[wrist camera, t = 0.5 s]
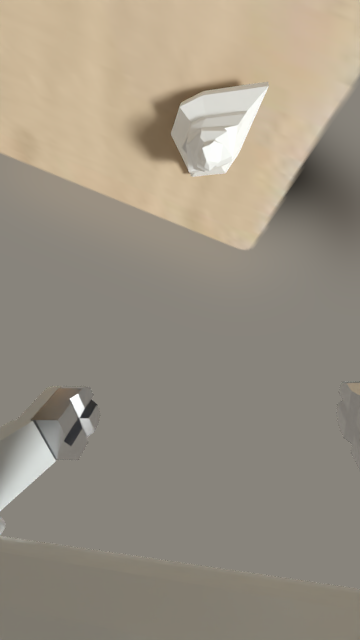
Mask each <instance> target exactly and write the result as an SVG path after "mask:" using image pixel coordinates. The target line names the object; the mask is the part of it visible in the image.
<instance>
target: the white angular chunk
mask: <svg viewBox="0 0 360 640" xmlns="http://www.w3.org/2000/svg"><path fill="white" fill-rule="evenodd" d="M268 86H269V84H268V82H262V83H255V84H248V85H241V86H234V87H227V88H221V89H214V90H207V91H202V92H201V93H199V94H197V95H195V96H193V97H191V98H189V99H187V100H185V101H183V102H181V104H180V107H179V110H178V113H177V116H176V119H175V122H174V125H173V128H172V131H171V136H172V138H173V140H174V142H175V144H176V146H177V148H178V150H179V152H180V154H181V156H182V158H183V160H184V162H185V164H186V166H187V168H188V172H190V174H191V176H192V177H193V176H203V175H214V174H224V173H226V172H227V170H228V169H229V167H230V166H231V164H232V163H233V161H234V160H235V158H236V157H237V155H238V154H239V152H240V149H241V147H242V145H243V143H244V140H245V138H246V136H247V134H248V131H249V129H250V127H251V125H252V122H253V120H254V118H255V116H256V113H257V111H258V109H259V107H260V104H261V102H262V100H263V98H264V95H265V93H266V91H267V89H268Z"/></svg>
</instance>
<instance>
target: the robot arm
mask: <svg viewBox="0 0 360 640" xmlns="http://www.w3.org/2000/svg"><path fill="white" fill-rule="evenodd" d="M339 394H340V396H341V397H342V399H343V400H342V401H341V402H339V403H338V404H337V420H338V425H339V428H340V431H341V433H342V435H343V437H344V438H345V439H346V440H347V441H348V442H350V443H351V444H352V449H351V454H352V456H353V458H354V460H355V462H356V464H357V466H358V468H359V470H360V381H359V382H342V383H341V385H340V389H339ZM92 397H93V393H92V390H91V388H89V387H86V386H62V387H61V386H51V387H49V388H46V389H45V390H44V392H43V393H42V394H41V395H40V396H39V397H38V398H37V399H36V400H35V401H34V402H33V403H32V404H31V405H30V406H29V407H28V408H27V409H26V410H25V412H24V413H23V414H22V415H21V416H20V417H19V418H18V419H17V420H15V421H14V420H13V421H10V422H9V423H7V424H5V425H3V426H2V427H0V511H1V510H2V509H3V508H4V507H5V506H6V505H7V504H9V502H11V501H12V500H13V499H14V498H15V497H16V496H17V495H19V494H20V493H21V492H22V491H23V490H24V489H25V488H26V487H28V486H29V485H30V484H31V483H32V482H33V481H34V480H35V479H36V478H37V477H39V476H40V475H41V474H42V473H43V472H44V471H45V470H46V469H48V468H49V467H50V466H51V465H52V464H53V463H54V462H55V461H56V460H79V458H80V456H81V454H82V453H83V451H84V449H85V447H86V445H87V444H88V436H89V435H90V434H92V433H93V432H94V431H95V429H96V428H97V425H98V423H99V418H100V411H99V407H98V405H97V404H96V403H95V402H94V401H93V400H92ZM4 528H5V521H4V520H3V519H2V518H1V517H0V534H1V533H2V531H3V530H4ZM0 640H360V589H356V588H350V587H344V586H336V585H330V584H323V583H316V582H309V581H303V580H296V579H289V578H282V577H276V576H269V575H262V574H255V573H248V572H242V571H234V570H228V569H221V568H215V567H208V566H201V565H194V564H187V563H180V562H174V561H166V560H160V559H153V558H147V557H140V556H133V555H126V554H120V553H113V552H106V551H98V550H92V549H85V548H78V547H72V546H65V545H58V544H51V543H45V542H38V541H31V540H24V539H17V538H11V537H4V536H0Z"/></svg>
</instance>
